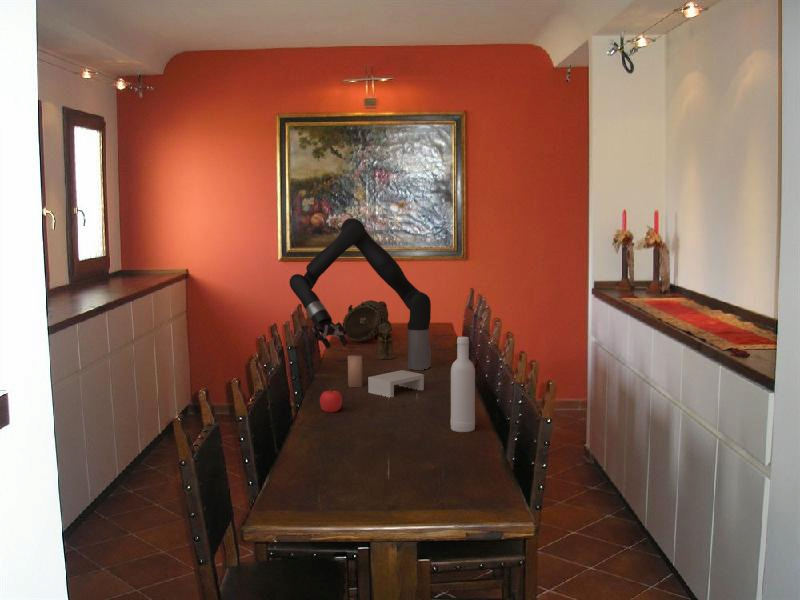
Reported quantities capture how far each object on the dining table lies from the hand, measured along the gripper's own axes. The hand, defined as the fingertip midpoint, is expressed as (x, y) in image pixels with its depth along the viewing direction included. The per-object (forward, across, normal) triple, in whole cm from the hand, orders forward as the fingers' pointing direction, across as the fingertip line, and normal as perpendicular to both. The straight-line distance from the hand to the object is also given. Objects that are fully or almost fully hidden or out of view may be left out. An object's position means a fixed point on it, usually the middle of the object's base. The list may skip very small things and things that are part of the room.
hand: (337, 345), depth 357 cm
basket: (-37, +78, +58) cm, 104 cm away
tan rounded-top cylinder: (+18, 0, +3) cm, 18 cm away
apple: (+34, -32, -13) cm, 49 cm away
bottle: (+69, -18, -48) cm, 86 cm away
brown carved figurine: (-5, +47, +26) cm, 54 cm away
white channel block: (+30, +5, -10) cm, 32 cm away
